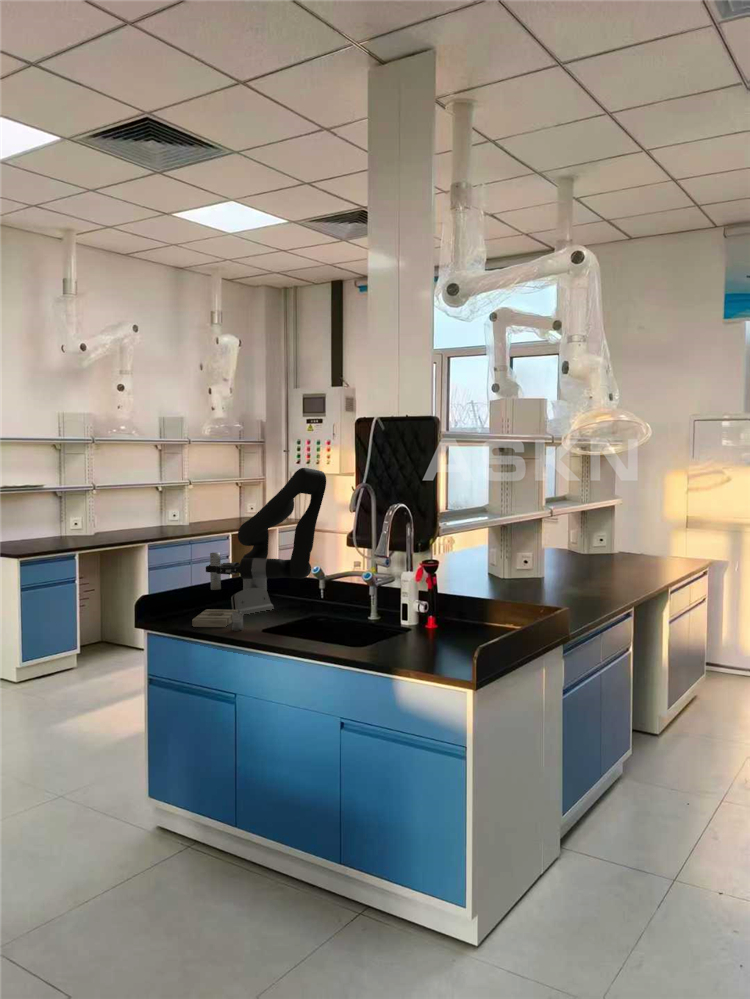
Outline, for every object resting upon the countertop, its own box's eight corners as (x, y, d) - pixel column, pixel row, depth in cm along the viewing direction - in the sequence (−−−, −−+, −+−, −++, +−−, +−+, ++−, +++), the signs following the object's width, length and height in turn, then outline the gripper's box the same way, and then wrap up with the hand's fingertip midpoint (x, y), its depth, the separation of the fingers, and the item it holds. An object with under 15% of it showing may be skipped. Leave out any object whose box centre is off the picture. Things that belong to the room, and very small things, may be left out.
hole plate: (206, 615, 293) (206, 609, 293) (238, 616, 292) (238, 609, 292) (192, 626, 275) (192, 619, 275) (226, 627, 275) (226, 620, 274)
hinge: (240, 616, 293) (234, 589, 295) (233, 618, 296) (227, 592, 298) (275, 609, 305) (269, 584, 307) (267, 612, 308) (262, 587, 310)
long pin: (212, 588, 285) (211, 552, 284) (221, 588, 285) (221, 552, 284) (209, 589, 281) (208, 553, 281) (219, 589, 281) (218, 553, 280)
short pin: (233, 628, 272) (233, 611, 272) (244, 628, 272) (243, 611, 272) (231, 631, 269) (231, 613, 268) (241, 631, 268) (241, 613, 268)
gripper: (258, 555, 289) (212, 555, 290) (250, 560, 275) (201, 560, 276) (258, 575, 289) (212, 575, 290) (250, 582, 275) (202, 581, 276)
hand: (207, 568), depth 283 cm, fingers closed on long pin, 3 cm apart
